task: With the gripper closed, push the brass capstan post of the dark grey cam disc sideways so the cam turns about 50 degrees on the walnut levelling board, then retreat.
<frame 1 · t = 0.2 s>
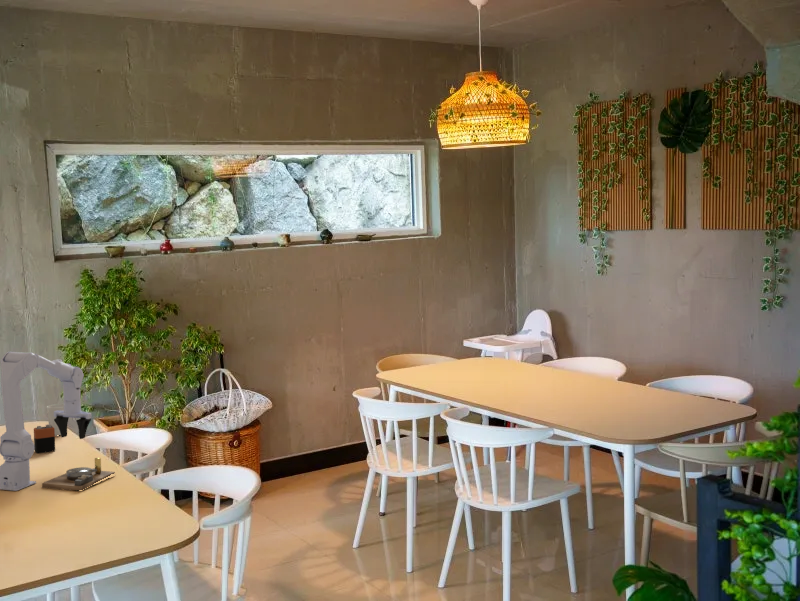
hand: (73, 437, 307), 10 cm above the table, fingers open, 7 cm apart
cup: (58, 435, 354), on the table
cam: (84, 468, 288), point 4 cm above the table, hinge at 0.0°
board: (79, 481, 287), on the table
battery: (44, 451, 327), on the table
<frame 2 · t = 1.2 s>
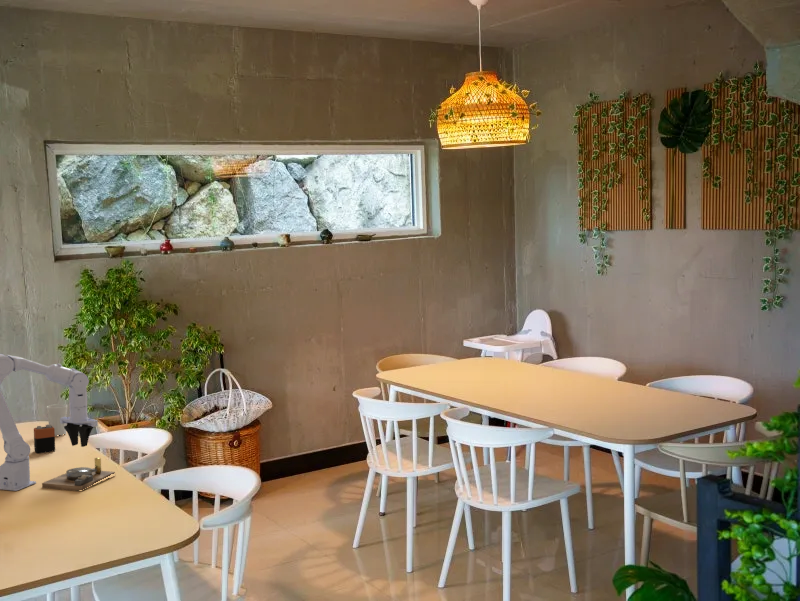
hand: (79, 445, 294), 10 cm above the table, fingers open, 3 cm apart
nothing on the table moved.
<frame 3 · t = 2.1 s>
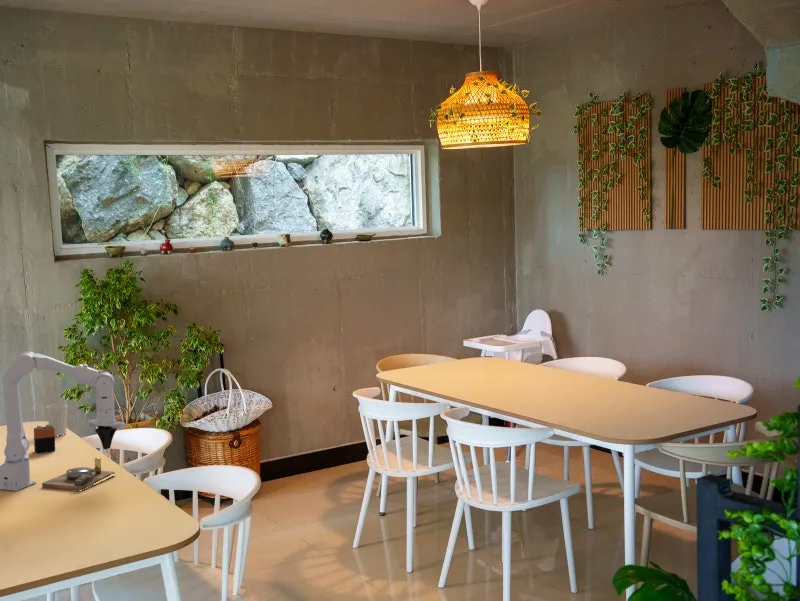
hand: (106, 448, 289), 11 cm above the table, fingers closed
nothing on the table moved.
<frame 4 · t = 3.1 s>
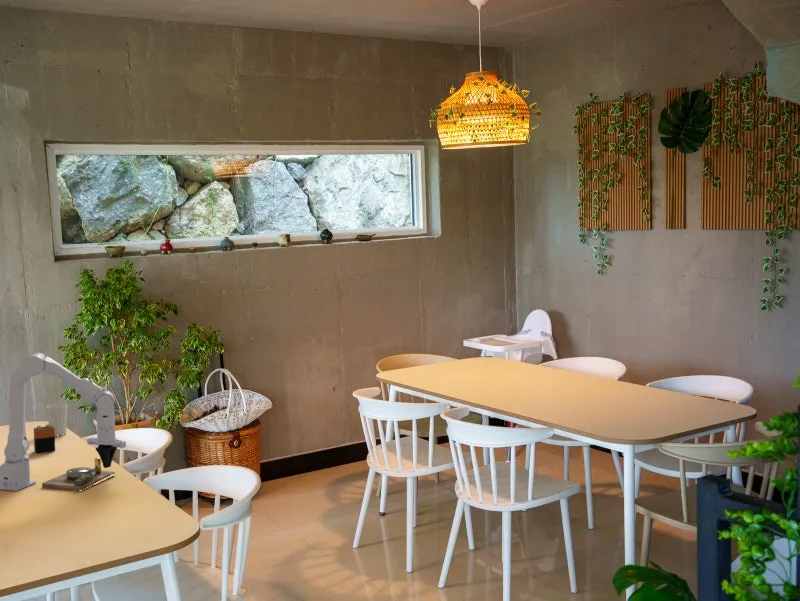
hand: (107, 467, 290), 4 cm above the table, fingers closed
nothing on the table moved.
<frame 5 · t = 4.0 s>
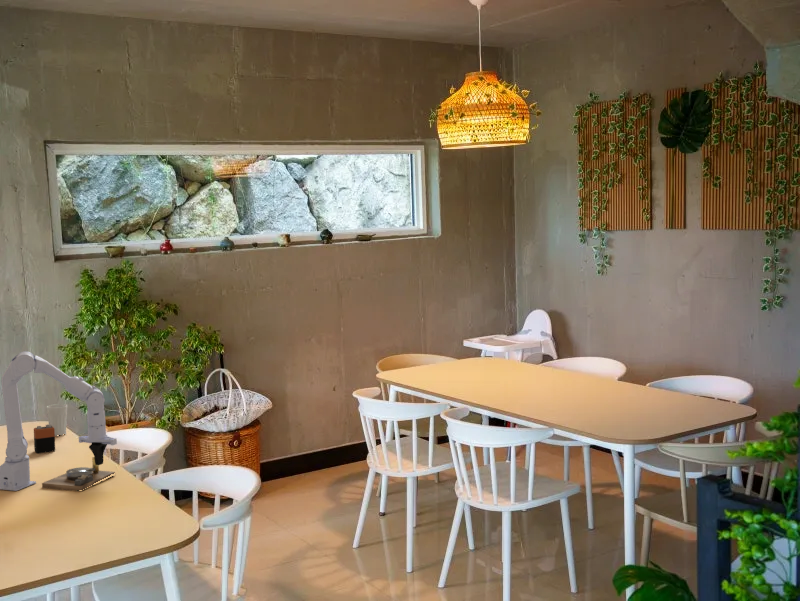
hand: (99, 464, 292), 5 cm above the table, fingers closed, pressing on cam
cam: (83, 467, 288), point 4 cm above the table, hinge at 13.0°, touching gripper
everything else where it was.
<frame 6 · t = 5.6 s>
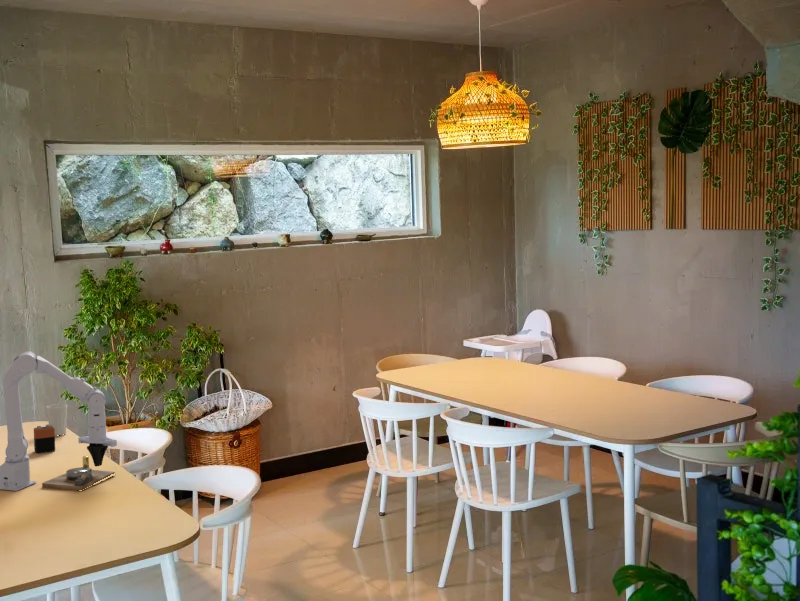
hand: (98, 465, 291), 4 cm above the table, fingers closed
cam: (80, 467, 289), point 4 cm above the table, hinge at 47.3°
everything else where it was.
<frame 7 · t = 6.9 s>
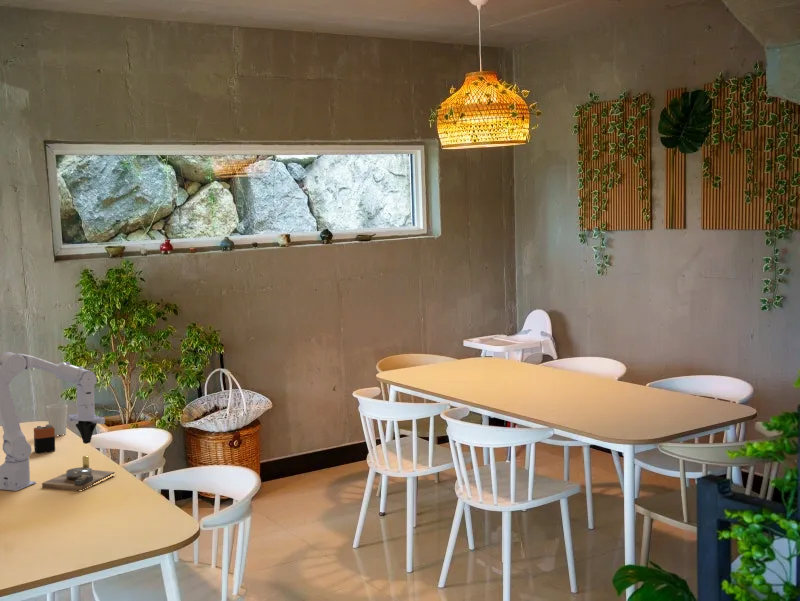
hand: (86, 442, 298), 10 cm above the table, fingers closed
nothing on the table moved.
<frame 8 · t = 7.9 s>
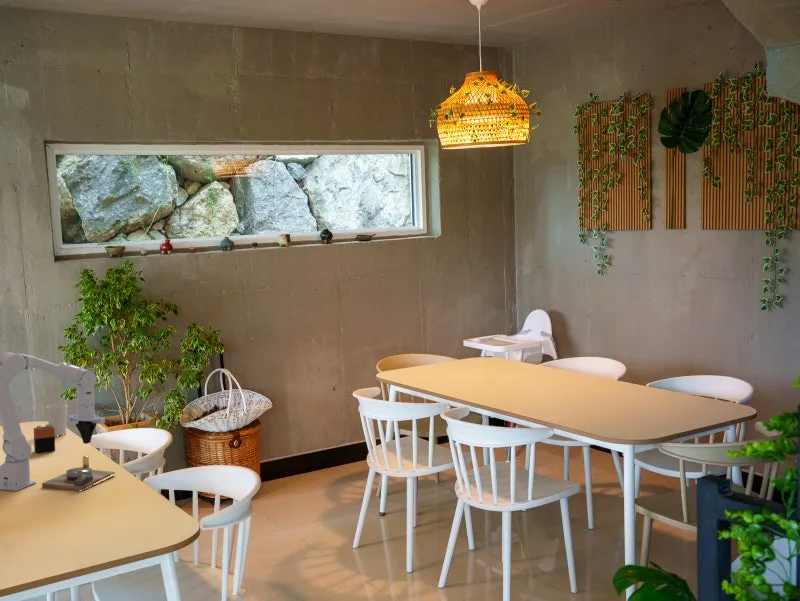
hand: (86, 442, 298), 10 cm above the table, fingers closed
nothing on the table moved.
at the end: cam at +48° (first picture: +0°) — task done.
